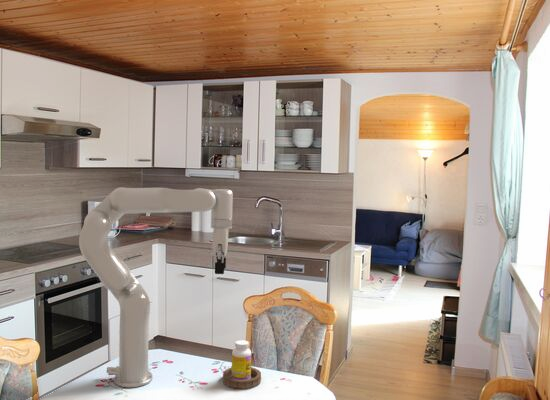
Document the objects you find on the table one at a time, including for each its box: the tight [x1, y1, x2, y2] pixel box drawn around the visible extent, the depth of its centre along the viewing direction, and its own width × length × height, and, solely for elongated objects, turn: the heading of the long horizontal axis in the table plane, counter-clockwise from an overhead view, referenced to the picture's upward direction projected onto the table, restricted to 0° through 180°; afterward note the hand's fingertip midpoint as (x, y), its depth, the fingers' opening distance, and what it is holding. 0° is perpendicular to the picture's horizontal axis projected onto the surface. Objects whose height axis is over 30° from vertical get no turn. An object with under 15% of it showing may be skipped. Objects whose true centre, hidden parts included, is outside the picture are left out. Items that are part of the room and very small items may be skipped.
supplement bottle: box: [231, 339, 252, 380], centre depth 172 cm, size 7×7×13 cm
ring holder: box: [222, 366, 262, 390], centre depth 172 cm, size 13×13×3 cm
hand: (220, 271), depth 179 cm, fingers open, 9 cm apart
